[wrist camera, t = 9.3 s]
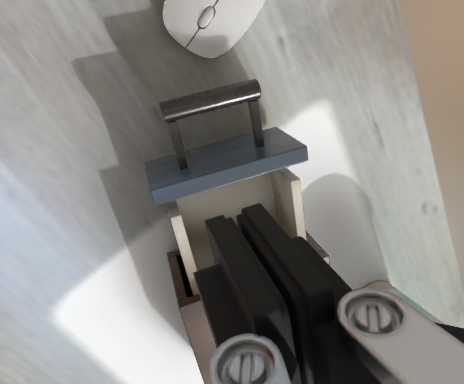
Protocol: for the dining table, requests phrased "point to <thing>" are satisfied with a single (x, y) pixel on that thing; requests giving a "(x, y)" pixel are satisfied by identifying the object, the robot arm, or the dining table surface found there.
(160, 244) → the dining table surface
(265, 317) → the robot arm
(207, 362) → the drawer cabinet
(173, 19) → the computer mouse
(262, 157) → the drawer
